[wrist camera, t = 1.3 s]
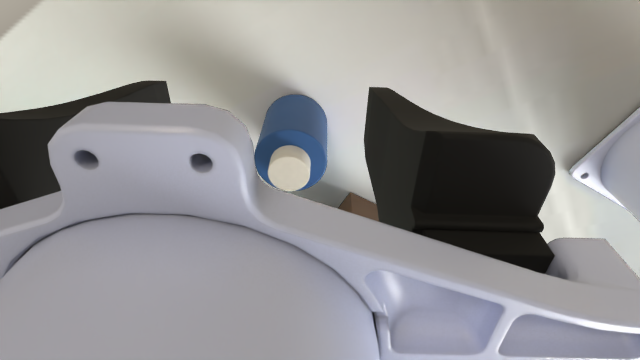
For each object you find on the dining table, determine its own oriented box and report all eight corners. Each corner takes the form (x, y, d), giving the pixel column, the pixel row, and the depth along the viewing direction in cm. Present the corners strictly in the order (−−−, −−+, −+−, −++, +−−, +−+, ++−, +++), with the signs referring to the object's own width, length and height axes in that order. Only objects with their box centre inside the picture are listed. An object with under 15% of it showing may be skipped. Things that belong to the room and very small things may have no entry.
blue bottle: (338, 112, 24) (341, 162, 19) (308, 158, 26) (304, 214, 21) (281, 82, 23) (269, 127, 18) (255, 133, 25) (238, 186, 20)
